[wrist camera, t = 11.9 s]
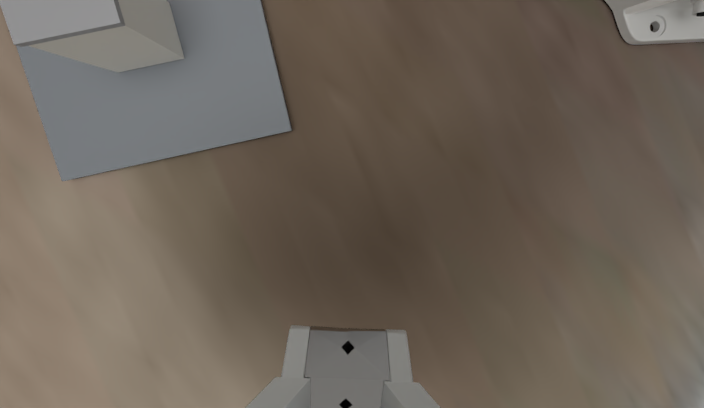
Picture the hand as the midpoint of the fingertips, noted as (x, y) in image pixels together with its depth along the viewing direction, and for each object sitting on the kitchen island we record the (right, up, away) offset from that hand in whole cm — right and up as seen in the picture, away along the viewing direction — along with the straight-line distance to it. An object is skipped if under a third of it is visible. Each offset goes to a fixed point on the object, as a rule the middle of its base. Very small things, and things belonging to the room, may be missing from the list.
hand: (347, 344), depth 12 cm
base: (-15, +16, +23) cm, 32 cm away
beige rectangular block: (-15, +16, +21) cm, 31 cm away
